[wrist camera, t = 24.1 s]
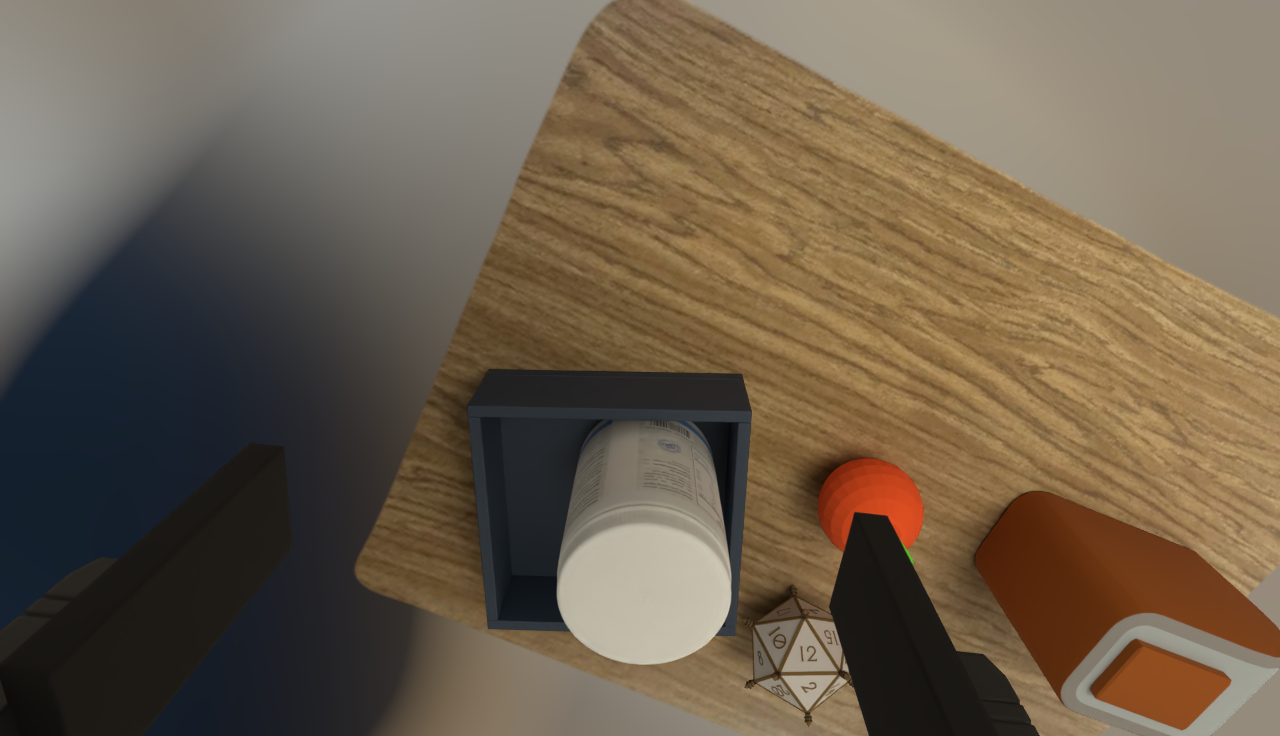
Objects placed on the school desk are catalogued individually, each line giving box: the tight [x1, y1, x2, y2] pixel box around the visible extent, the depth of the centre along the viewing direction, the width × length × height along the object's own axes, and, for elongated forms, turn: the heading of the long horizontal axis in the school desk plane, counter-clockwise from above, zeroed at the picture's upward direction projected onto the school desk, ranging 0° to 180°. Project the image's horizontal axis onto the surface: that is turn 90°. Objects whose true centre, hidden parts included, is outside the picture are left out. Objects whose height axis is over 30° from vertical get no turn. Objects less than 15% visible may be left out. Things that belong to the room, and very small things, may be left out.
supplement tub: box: [557, 420, 731, 665], centre depth 44 cm, size 10×10×15 cm
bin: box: [467, 369, 752, 636], centre depth 50 cm, size 18×18×6 cm
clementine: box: [818, 458, 924, 564], centre depth 49 cm, size 8×7×7 cm
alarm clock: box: [975, 491, 1280, 736], centre depth 48 cm, size 15×8×14 cm, turn 67°
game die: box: [742, 585, 854, 727], centre depth 53 cm, size 9×8×10 cm
